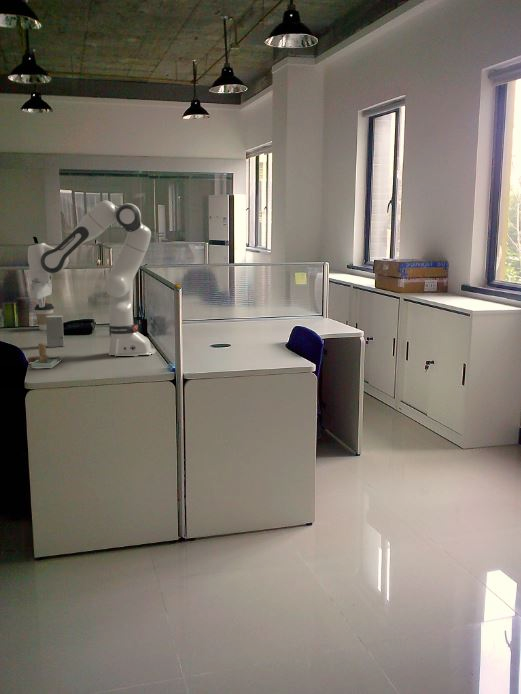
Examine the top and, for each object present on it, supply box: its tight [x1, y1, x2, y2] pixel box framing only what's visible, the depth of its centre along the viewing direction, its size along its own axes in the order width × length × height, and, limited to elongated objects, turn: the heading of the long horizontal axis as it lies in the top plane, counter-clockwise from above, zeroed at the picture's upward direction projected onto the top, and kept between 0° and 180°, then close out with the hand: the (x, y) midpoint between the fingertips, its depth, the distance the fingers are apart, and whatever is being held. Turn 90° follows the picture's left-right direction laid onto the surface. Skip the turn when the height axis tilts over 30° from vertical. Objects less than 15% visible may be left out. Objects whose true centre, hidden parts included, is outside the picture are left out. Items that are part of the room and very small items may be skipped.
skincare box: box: [46, 315, 65, 348], centre depth 348 cm, size 8×7×16 cm
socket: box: [47, 356, 62, 362], centre depth 310 cm, size 6×6×2 cm
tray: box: [30, 359, 57, 367], centre depth 302 cm, size 9×8×2 cm
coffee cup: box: [34, 302, 55, 332], centre depth 400 cm, size 11×11×15 cm
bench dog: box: [27, 355, 40, 364], centre depth 309 cm, size 6×3×3 cm, turn 89°
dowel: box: [37, 342, 48, 363], centre depth 301 cm, size 3×3×10 cm
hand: (42, 307), depth 319 cm, fingers closed
